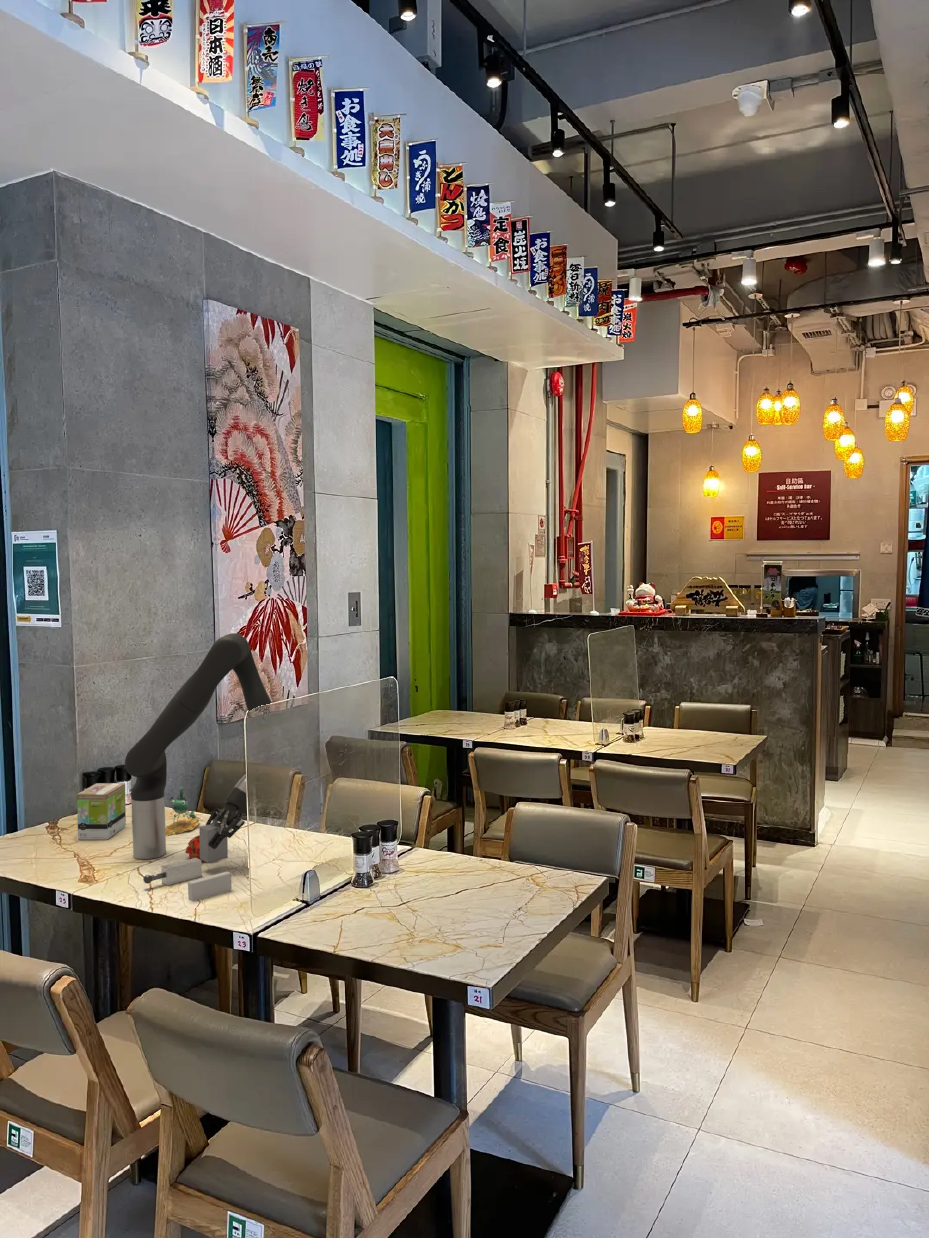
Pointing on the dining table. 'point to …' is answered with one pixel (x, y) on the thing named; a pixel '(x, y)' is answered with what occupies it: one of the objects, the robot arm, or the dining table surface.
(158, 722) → the robot arm
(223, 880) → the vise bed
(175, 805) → the frog figurine
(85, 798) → the tea box
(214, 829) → the steel block
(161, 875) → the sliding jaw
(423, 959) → the dining table surface
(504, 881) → the dining table surface
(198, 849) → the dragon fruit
